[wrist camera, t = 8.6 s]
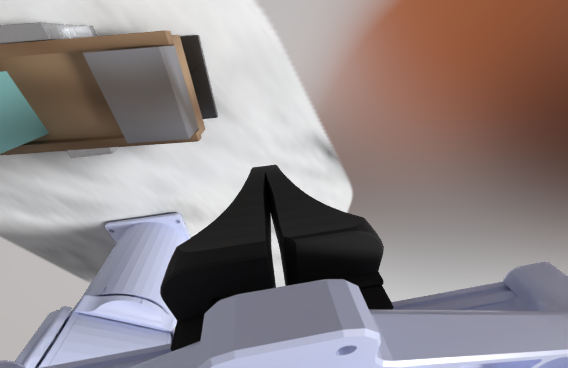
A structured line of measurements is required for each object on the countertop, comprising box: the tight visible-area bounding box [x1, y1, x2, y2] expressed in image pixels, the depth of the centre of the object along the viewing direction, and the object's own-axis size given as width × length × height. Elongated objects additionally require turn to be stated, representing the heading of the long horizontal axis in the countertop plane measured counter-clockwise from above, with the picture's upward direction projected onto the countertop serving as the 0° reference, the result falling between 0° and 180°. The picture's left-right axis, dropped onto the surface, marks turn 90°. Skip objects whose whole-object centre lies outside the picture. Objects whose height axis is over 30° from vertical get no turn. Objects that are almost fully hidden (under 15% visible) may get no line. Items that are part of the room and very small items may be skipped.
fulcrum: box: [0, 23, 218, 158], centre depth 16 cm, size 8×19×3 cm, turn 94°
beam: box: [0, 31, 205, 155], centre depth 14 cm, size 6×18×4 cm, turn 94°
